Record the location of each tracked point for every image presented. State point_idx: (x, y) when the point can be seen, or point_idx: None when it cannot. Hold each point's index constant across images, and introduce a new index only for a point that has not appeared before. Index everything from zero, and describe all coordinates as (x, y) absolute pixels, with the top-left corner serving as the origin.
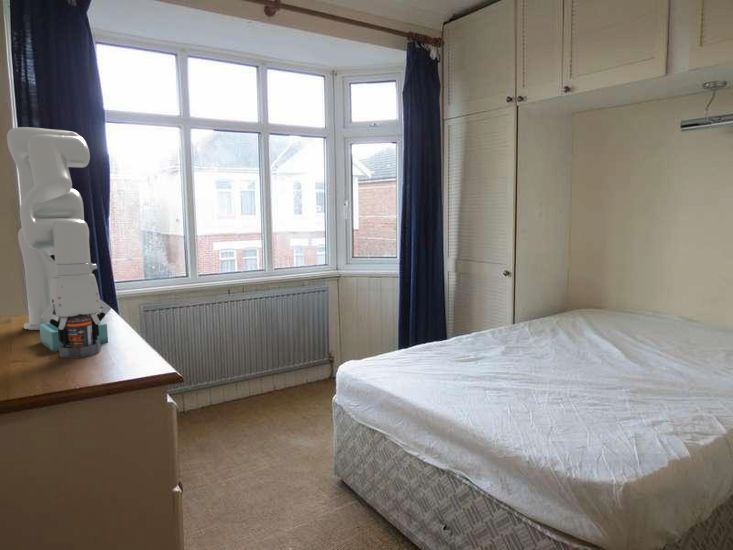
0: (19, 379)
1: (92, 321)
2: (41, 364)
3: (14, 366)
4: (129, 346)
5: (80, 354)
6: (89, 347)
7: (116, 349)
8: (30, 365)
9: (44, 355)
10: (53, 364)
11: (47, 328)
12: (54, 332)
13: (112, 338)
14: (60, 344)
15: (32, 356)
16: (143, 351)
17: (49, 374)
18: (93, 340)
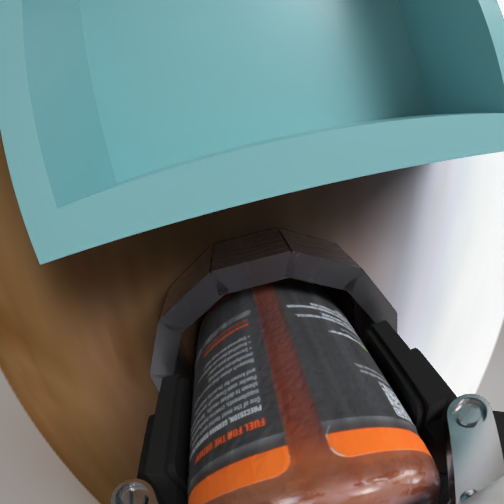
0: (111, 494)
1: (435, 456)
2: (116, 422)
3: (29, 391)
4: (477, 301)
5: None
6: None
7: (428, 333)
8: (79, 412)
9: (78, 281)
10: None
11: (1, 30)
12: (62, 256)
13: None
14: (154, 346)
15: (29, 269)
16: (467, 390)
17: None
18: (372, 320)
